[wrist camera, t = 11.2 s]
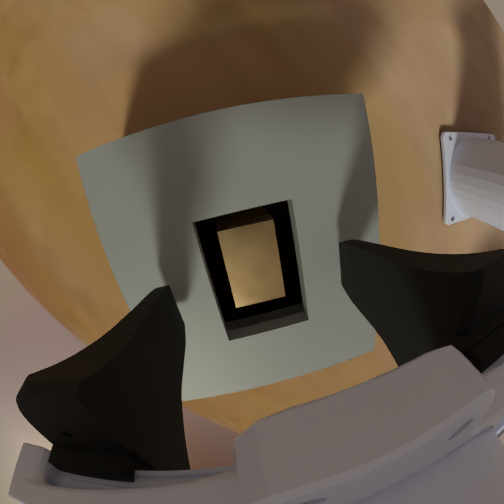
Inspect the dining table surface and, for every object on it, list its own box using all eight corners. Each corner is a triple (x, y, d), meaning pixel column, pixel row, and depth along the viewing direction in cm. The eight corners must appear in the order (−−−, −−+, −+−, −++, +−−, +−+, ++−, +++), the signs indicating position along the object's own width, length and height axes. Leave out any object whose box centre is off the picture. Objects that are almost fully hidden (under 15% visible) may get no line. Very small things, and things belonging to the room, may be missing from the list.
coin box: (313, 108, 15) (362, 93, 9) (337, 301, 20) (374, 349, 15) (120, 152, 14) (75, 156, 9) (185, 340, 20) (181, 401, 14)
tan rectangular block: (255, 198, 17) (273, 219, 12) (266, 257, 18) (285, 296, 13) (215, 207, 16) (217, 232, 12) (229, 266, 18) (236, 308, 13)
